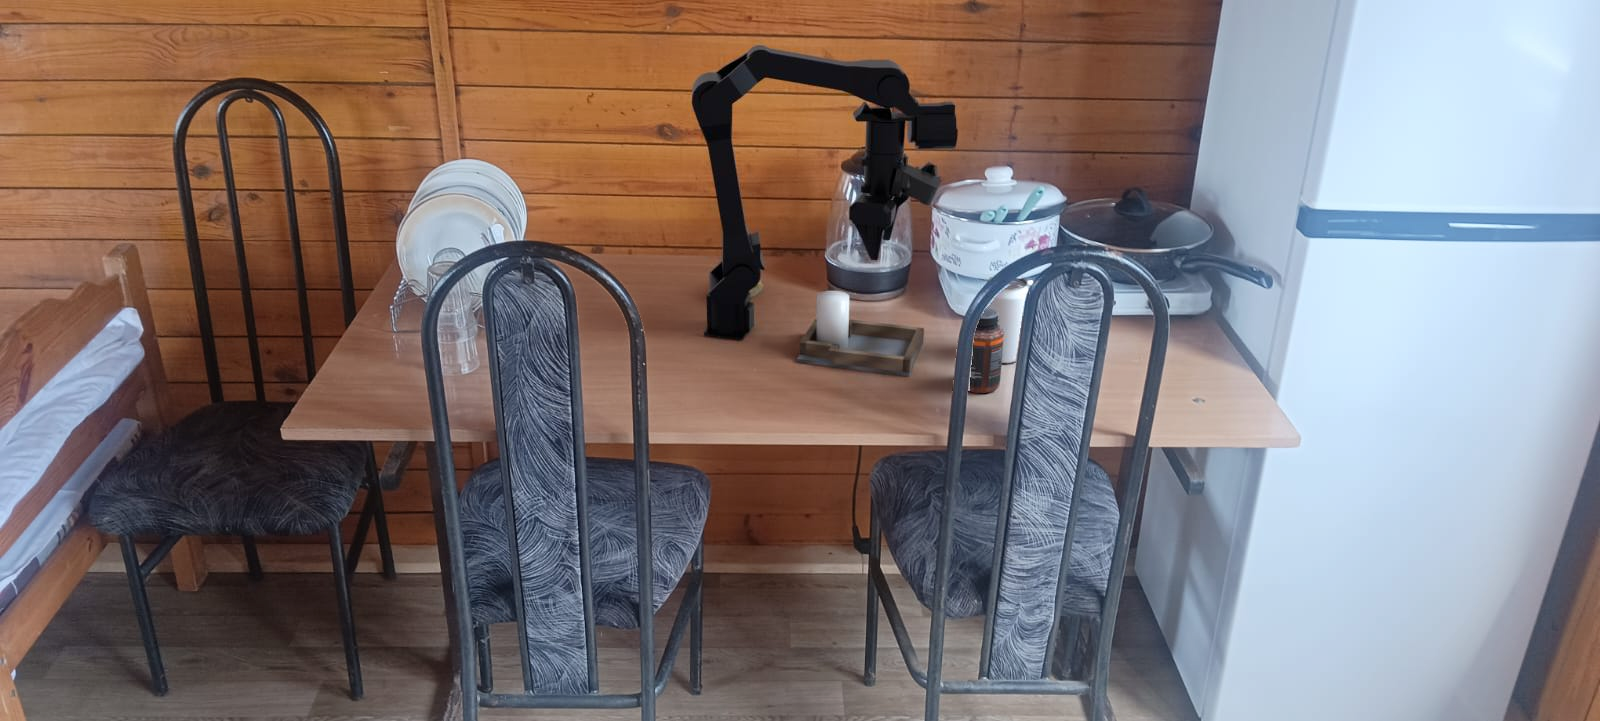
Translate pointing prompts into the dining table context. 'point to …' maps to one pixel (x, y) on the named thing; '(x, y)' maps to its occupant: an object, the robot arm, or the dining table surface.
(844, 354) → the tray
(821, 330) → the peg
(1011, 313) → the can
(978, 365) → the supplement bottle
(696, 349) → the dining table surface
